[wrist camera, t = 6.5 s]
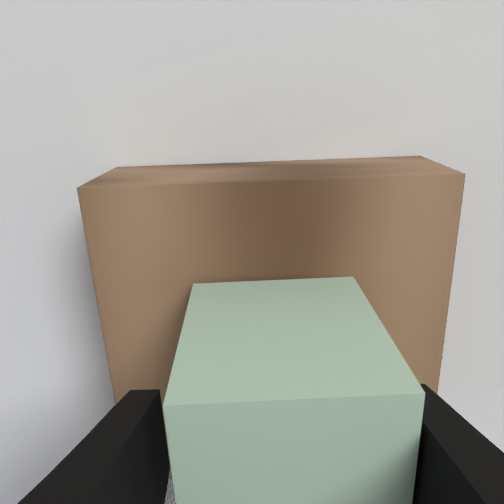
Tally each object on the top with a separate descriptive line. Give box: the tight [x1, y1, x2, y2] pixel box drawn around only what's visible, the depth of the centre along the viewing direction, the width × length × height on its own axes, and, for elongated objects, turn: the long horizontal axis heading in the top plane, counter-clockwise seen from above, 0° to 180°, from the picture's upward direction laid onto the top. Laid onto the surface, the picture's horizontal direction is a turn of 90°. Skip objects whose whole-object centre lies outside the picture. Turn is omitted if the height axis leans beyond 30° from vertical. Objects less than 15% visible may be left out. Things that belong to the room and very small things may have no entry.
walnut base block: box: [77, 156, 465, 478], centre depth 13 cm, size 9×9×3 cm
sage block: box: [163, 277, 425, 504], centre depth 9 cm, size 4×4×4 cm
